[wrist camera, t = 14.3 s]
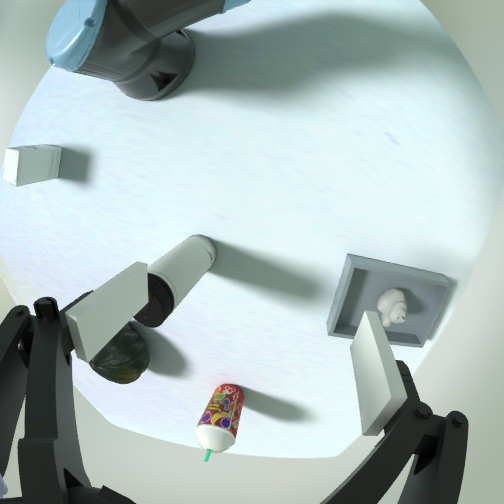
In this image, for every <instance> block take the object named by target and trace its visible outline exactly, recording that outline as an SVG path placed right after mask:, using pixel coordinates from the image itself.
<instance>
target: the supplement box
mask: <svg viewBox="0 0 504 504" xmlns="http://www.w3.org/2000/svg"><path fill="white" fill-rule="evenodd" d="M61 153H62V148H61V147H55V146H50V145H46V144H44V145H31V146H20V147H12V148H6V153H5V164H4V181H5V182H8V183H10V184H12V185H14V186H16V187H17V186H22V185H26V184H31V183H36V182H41V181H45V180H51V179H56V178H58V174H59V166H60V159H61Z"/></svg>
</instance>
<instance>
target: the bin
mask: <svg viewBox="0 0 504 504" xmlns="http://www.w3.org/2000/svg"><path fill="white" fill-rule="evenodd" d="M451 285H452V283H451V282H450V281H449V280H448V279H447V278H446V277H445V276H444V275H443V274H438V273H434V272H430V271H425V270H421V269H416V268H412V267H408V266H403V265H398V264H394V263H389V262H385V261H380V260H376V259H371V258H366V257H362V256H357V255H352V254H347V257H346V261H345V265H344V268H343V272H342V275H341V279H340V282H339V285H338V289H337V292H336V295H335V299H334V302H333V305H332V308H331V311H330V314H329V317H328V320H327V331H328V335H329V336H335V337H341V338H347V339H354V337H355V335H356V332H357V330H358V327H359V325H360V322H361V320H362V317H363V314H364V312H365V310H367V311H373V312H377V314H378V316H379V319H380V321H381V324H382V318H381V315H382V313H381V312H380V311H379V310H378V308H377V303H378V300H379V298H380V297H381V296H382V295H383V294H384V293H385V292H386V291H387V290H390V289H393V288H395V289H400V290H401V291H402V292H403V294H404V296H405V299H406V302H407V316H406V319H405V322H402V323H393V322H392V324H391V325H390V326H389V327H384V326H383V324H382V326H383V329H384V331H385V334H386V336H387V339H388V342H389V344H392V345H400V346H410V347H420V348H423V346H424V344H425V342H426V340H427V338H428V336H429V334H430V332H431V330H432V328H433V326H434V324H435V322H436V320H437V318H438V316H439V314H440V311H441V309H442V307H443V305H444V302H445V300H446V297H447V295H448V293H449V290H450V288H451Z"/></svg>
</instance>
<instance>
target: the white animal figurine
mask: <svg viewBox="0 0 504 504" xmlns="http://www.w3.org/2000/svg"><path fill="white" fill-rule="evenodd" d="M377 308H378V310H379V311H380V312H381V313H382V315H381V318H382V324H383V326H384V327H389V326H390V325H391V324H392V322H393V323H402V322H405V319H406V316H407V302H406V299H405V296H404V294H403V292H402V291H401V290H400V289H395V288H393V289H390V290H387V291H386V292H385V293H384V294H383V295H382V296H381V297H380V298H379V300H378V303H377Z"/></svg>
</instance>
